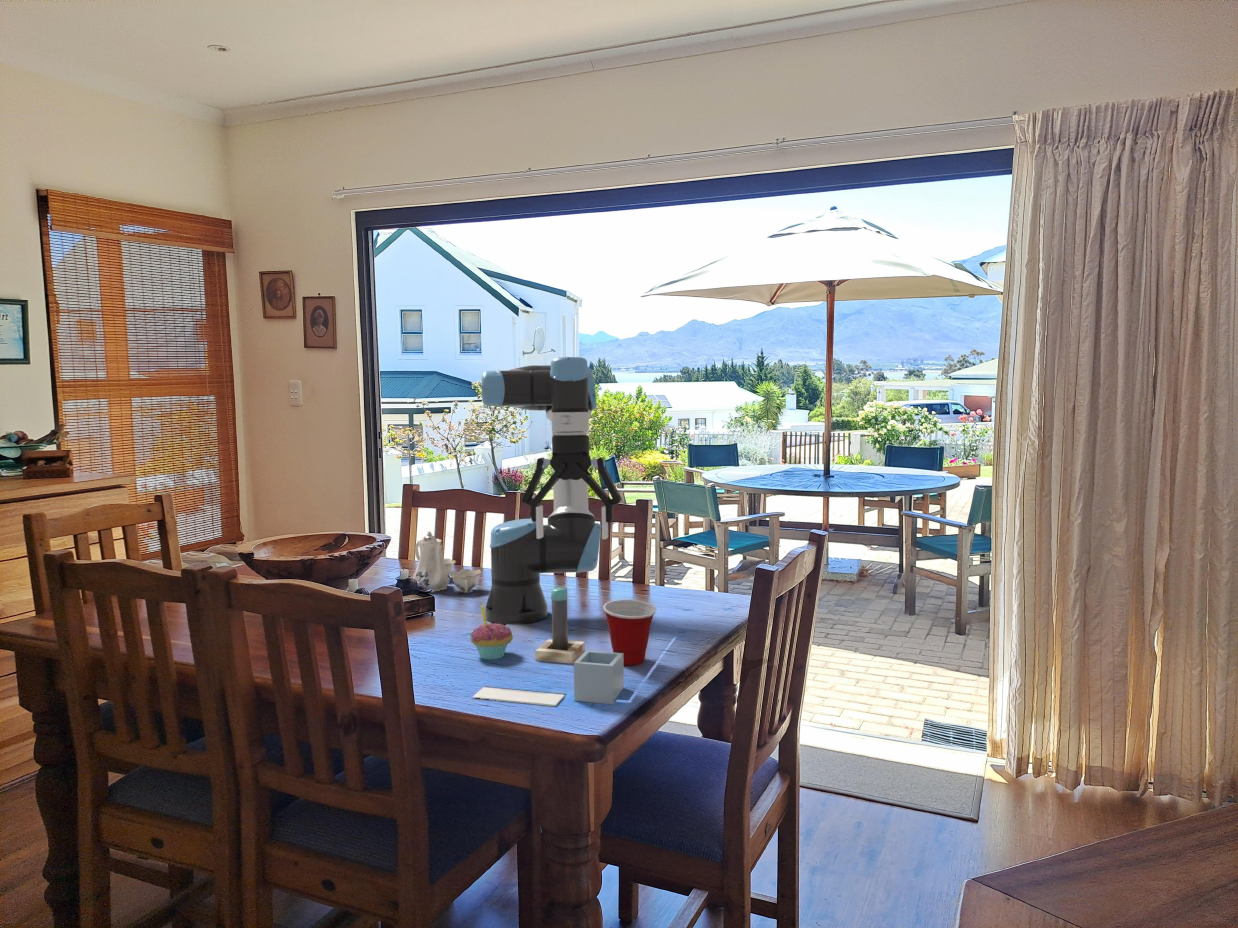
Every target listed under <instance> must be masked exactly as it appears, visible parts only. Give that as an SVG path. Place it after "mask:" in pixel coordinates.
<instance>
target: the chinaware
mask: <svg viewBox="0 0 1238 928" xmlns="http://www.w3.org/2000/svg"><path fill="white" fill-rule="evenodd" d="M443 545H444V544H442V539H439V538H437V537H436V536H434V535H433V533H432V532H431V531H430V530H428V532H427V533H426V535H425V536H424V537H423V538H422V539H420V540H417V542H416V543H415V546H414V549H415V550H414V553H415V557H416V559H417V561H418V562H417V563H418V564H417V566H416V569H415V570H414V572H413V574H412V575H411V578H413V579H415V580H417V581H418V582H419V583H420V584H422V585H425V586H428V587H429V588H430V589H431V590H433V591H438V592H441V591H440V590H442V591H445V590H447V589H448V586H447V585H448V584H449V583H450V581H451V580H452V581H453V584H454V586H455V587H456V588H457V589H459V592H460V593H462V592H463V593H462V594H465V593H472V592H474V590H473V589H474V588H475V587H476V586H477V584H478V583H479V580H480V576H481V575H482V571H481V570H480V569H476V570H475V569H474V570H472V569H469V568H464V569H460V570H459V571H456V570H453V569H454V565H455V564H456V563H457V561H456V560H454V559H453V560H452V559H450V558H444V555H443ZM451 578H452V579H451ZM444 589H445V590H444Z"/></svg>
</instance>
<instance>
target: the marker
mask: <svg viewBox="0 0 1238 928" xmlns="http://www.w3.org/2000/svg"><path fill="white" fill-rule="evenodd" d="M550 600H551V632H552V633H551V637H552V638H551V639H552V646H553V649H555V650H568V641H569V634H568V633H569V631H568V630H569V628H568V627H569V626H568V624H569V623H568V588H566V587H562V586H561V587H560V586H559V587H552V588H551V589H550Z"/></svg>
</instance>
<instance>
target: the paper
mask: <svg viewBox="0 0 1238 928" xmlns="http://www.w3.org/2000/svg"><path fill="white" fill-rule="evenodd" d="M566 696H567V693H560V692H559V693H558V692H549V691H548V692H547V691H537V690H536V691H535V690H528V689H517V688H516V689H515V688H506V687H495V686H486V685H485V686H483V687H482V688H480V690H478V691H477V693H475V694H474V695H472V699H475V698H480V699H479V700H485V699H489V700H488V701H495V700H496V701H498V702H506V703H507V702H508V703H517V704H525V705H526V704H527V705H538V706H545V707H546V706H547V707H556V706H557V705H558V704H560V702H561V701H562V700H563V699H564V698H565V697H566Z"/></svg>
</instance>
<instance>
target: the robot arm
mask: <svg viewBox="0 0 1238 928" xmlns="http://www.w3.org/2000/svg"><path fill="white" fill-rule="evenodd" d="M480 383H481V384H480V385H481V398H482V399H481V400H482V403H483V404H484V405H485V406H486V407H496V408H497V407H510V408H515V409H521V410H527V411H545V417H546V419H548V420H549V421H550V422H551V435H552V437H551V442H552V443H551V449H552V450H551V451H552V452H551V453H552V454H551V458H544V457H539V458H537V459H536V466H535V467H536V468H535V470H534V473H533V475H532V477H531V479H530V481H529V483H528V486H527V488H526V490H525V492H524V494H523V496H522V499H521V501H522V502H521V503H523V504H527V505H529V506H530V509H531V510H530V511H531V516H530V517H531V518H521V519H520V518H519V519H514V520H509V521H504V522H502V523H498V524H496V525H495V526H494V527H493V528H492V529H491V531H490V543H489V548H490V565H491V570H490V571H491V586H490V587H491V588H490V591H489V594H488V598H487V600H486V604H485V606H484V610H485V615H486V621H489V622H490V623H498V624H502V625H508V624H530V623H531V624H532V623H534V622H538V621H542V620H544V619H546V618H547V617H548V616H549V615H548V614H549V613H548V603H547V601H546V598H545V595H544V591H543V589H542V586H541V578H540V577H541V576H540V574H558V573H559V574H560V573H562V574H563V573H576V574H579V573H585V572H587V573H588V572H592V571H594V570H595V569H596V568H597V566H598V561H599V554H600V544H601V543H600V542H601V539H602V540H607V539H608V538H609V523H612V522H613V520H614V509H613V508H614V505H617V504H620V502H622V497H621V494H620V492H619V491H618V489H617V487H616V485H615V482H614V481H613V479H612V476H611V475H610V473H609V471H608V469H607V466H606V465H607V464H606V458H605V457H602V456H601V457H598V458H591V457H590V436H589V435H588V434H587V433H588V432H589V431H590V423H589V422H590V420H589V419H590V418H591V416H592V411H594V410H596V409H597V403H598V402H597V401H598V400H597V394H596V392H597V391H596V384H595V379H594V374H593V372H592V369H591V368H590V367H589V366H588V361H587V359H586V358H585V357H581V356H580V357H579V356H564V357H563V356H562V357H554V358H552V359H551V360H550V365H545V364H544V365H538V364H537V365H533V364H532V365H526V366H522V367H516V368H512V369H508V370H499V369H498V370H497V369H495V370H486V371H484V372H483V373H482V375H481V382H480ZM549 465H550V467H551V468H552V474H551V476H550V477H549V479H548V480H547V481H546V483H545V484H544V485H543V487H542V488H541V489H540V490H539V491H538V492H537V494H536V495H535V496H534V494H535V492H536V490H537V487H538V485H539V483H540V481H541V479H542V477H543V474H544V473H545V470H546V469H548V467H549ZM592 466H594V468H595V469H596V470H598V473H599V475H600V477H601V479H602V480H603V483H604V485H605V486H606V489H607V491H608V492H609V494H610V496H611V497H610V496H609V494H607V492H606V491H605V490H604V489H603V488H602V487H601V486H600V484H599V483H598V482H597V481H596V479H595V478H594V477H593V475H592V474H591V473H590V472H589V469H590V468H591V467H592ZM552 488H553V489H552ZM589 488H590V489H591V490H592V491H593V493H594V494H595V495H596V496H597V497H598V499H599V500H600V501H601V502H602V503H603V504H604V505H602V506H601V524H600V523H598V522H596V517H595V515H594V514H593V513H592V512H591V511H590V510H589ZM551 490H553V491H552V492H553V494H552V495H553V511H552V513H551V514H549V515H548V517H547V524H544V506H543V505H540V504H541V502H542V500H543V499H544V498H545V497H546V496H547V494H548V493H549V492H550V491H551ZM533 496H534V498H533Z"/></svg>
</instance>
